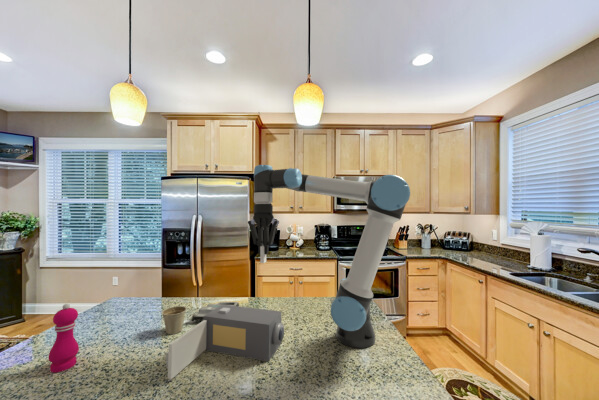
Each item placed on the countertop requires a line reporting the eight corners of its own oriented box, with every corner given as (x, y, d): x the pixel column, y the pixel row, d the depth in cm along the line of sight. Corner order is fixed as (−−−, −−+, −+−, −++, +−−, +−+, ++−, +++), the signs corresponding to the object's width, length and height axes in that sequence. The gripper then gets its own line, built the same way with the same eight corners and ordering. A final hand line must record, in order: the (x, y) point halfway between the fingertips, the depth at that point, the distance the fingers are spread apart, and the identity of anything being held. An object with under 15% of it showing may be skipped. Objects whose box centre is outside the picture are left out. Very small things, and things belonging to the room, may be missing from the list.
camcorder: (238, 321, 116) (238, 309, 116) (191, 325, 111) (191, 313, 112) (238, 308, 132) (238, 298, 132) (197, 311, 127) (197, 301, 127)
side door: (171, 379, 73) (172, 344, 74) (165, 378, 74) (166, 343, 74) (206, 348, 90) (206, 320, 90) (201, 348, 90) (201, 319, 91)
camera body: (287, 344, 95) (287, 309, 96) (275, 362, 83) (276, 323, 84) (221, 334, 103) (222, 302, 103) (202, 349, 91) (203, 313, 92)
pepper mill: (75, 357, 86) (78, 298, 87) (80, 365, 82) (83, 303, 83) (46, 367, 81) (49, 304, 82) (49, 377, 76) (52, 309, 77)
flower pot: (164, 339, 99) (164, 316, 99) (159, 330, 106) (159, 309, 107) (189, 331, 105) (189, 310, 105) (182, 324, 112) (183, 304, 113)
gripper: (281, 203, 104) (281, 261, 102) (252, 204, 107) (252, 260, 106) (275, 202, 96) (275, 265, 95) (244, 203, 100) (244, 263, 98)
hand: (263, 262), depth 100 cm, fingers closed
